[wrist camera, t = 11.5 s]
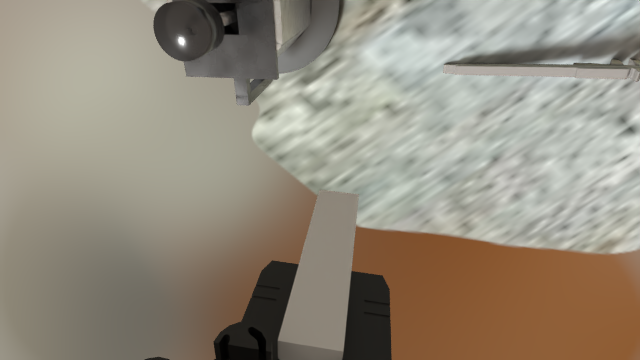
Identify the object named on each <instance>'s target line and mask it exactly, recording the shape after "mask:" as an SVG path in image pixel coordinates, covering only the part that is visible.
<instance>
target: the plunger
mask: <svg viewBox="0 0 640 360" xmlns="http://www.w3.org/2000/svg"><path fill="white" fill-rule="evenodd" d="M224 10H225V12H222V13H219V12H218V10H217V9H216V8H215V7H214V6H213V5H212V4H211V3H209V2H207V1H205V0H180V1H174V2H169V3H166V4H164V5H162V6H161V7H160V8H159V9H158V11H157V12H156V14H155V17H154V33H155V36H156V39H157V41H158V43H159V45H160V46H161V47H162V49H163V50H164V51H165V52H166V53H167V54H168V55H170V56H171V57H173V58H174V59H177V60H180V61H193V60H195V59H197V58H200V57H202V56H204V55H206V54H208V53H210V52H212V51H214V50H216V49H217V48H218V47H219V46H220V45H221V43H222V41H223V38H224V33H225V28H224V26H226V25H229V24H230V26H231V28H232V29H233V31H234V32H235V33H236V34H239V28H238V19H237V10H236V3H224Z"/></svg>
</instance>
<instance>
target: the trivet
mask: <svg viewBox="0 0 640 360" xmlns="http://www.w3.org/2000/svg"><path fill="white" fill-rule="evenodd" d="M339 5H340V2H339V0H312V12H311V23H310V25H309V26H308V27H307V28H306V30H305V31H304V33H303V34H302V35H301V37H300V38H299V39H297V40H296V41H295V42H294V43H293V44H292V45H291V46H290V47H289V48H288V49H287V50H286V51H285V52H283V53H282V54H281V55H280V56H279V57H278V72H279V73H288V72H292V71H295V70H299V69H301V68H303V67H305V66H306V65H308V64H309V63H311V62H312V61H314V60H315V59H316V58H317V57H318V56H319V55H320V54H321V53H322V51H323V50H324V49H325V48H326V46H327V45H328V43H329V41H330V40H331V38H332V35H333V33H334V31H335V28H336V25H337V20H338V16H339Z"/></svg>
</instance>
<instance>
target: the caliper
mask: <svg viewBox="0 0 640 360" xmlns="http://www.w3.org/2000/svg"><path fill="white" fill-rule="evenodd" d="M443 73H451V74H455V75H500V76H553V77H575V78H601V79H627V78H630V79H633V81H635V82H637V81H639V79H640V60H637V59H630V60H629V63H628V65H623V63H622V62H621V61H619V60H617V59H612V60H611V62H610V64H595V63H573V65H558V64H444V69H443Z"/></svg>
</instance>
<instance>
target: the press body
mask: <svg viewBox="0 0 640 360" xmlns="http://www.w3.org/2000/svg"><path fill="white" fill-rule="evenodd" d="M174 1H180V0H167V3H169V2H174ZM205 1H207V2H209V3H211V4H212V5H213V6H214V7H215V8H216V9H217V10H218V12H219V13H222V12H225V10H224V3H236V10H237V19H238V28H239V34H236V33H235V32H234V31H233V29H232V28H231V26H230V24H229V25H226V26H224V28H225V33H224V38H223V41H222V43H221V45H220V46H219V47H218V48H217V49H216V50H214V51H212V52H210V53H208V54H206V55H204V56H202V57H200V58H197V59H195V60H193V61H184V65H185V70H186V76H191V77H220V78H234V84H235V92H236V99H237V105H250V104H251V102H253V101H254V100H255V99H256V98H257V97H258V96H259V95H260V94H261V93H262V92H263V90H264V89H265V88H266V87H267V86H268V85H269V84H270V83H271V82H272V81H273V79H274V80H277V79H278V78H279V72H278V57H279V56H280V55H281V54H282V53H283V52H285V51H286V50H287V49H288V48H289V47H290V46H291V45H292V44H293V43H294V42H295V41H296V40H297V39H299V38H300V37H301V35H302V34H303V33H304V31H305V30H306V28H307V27H308V26H309V25H310V23H311V12H312V0H205ZM250 79H254V80H253V81H252V82H250Z"/></svg>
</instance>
